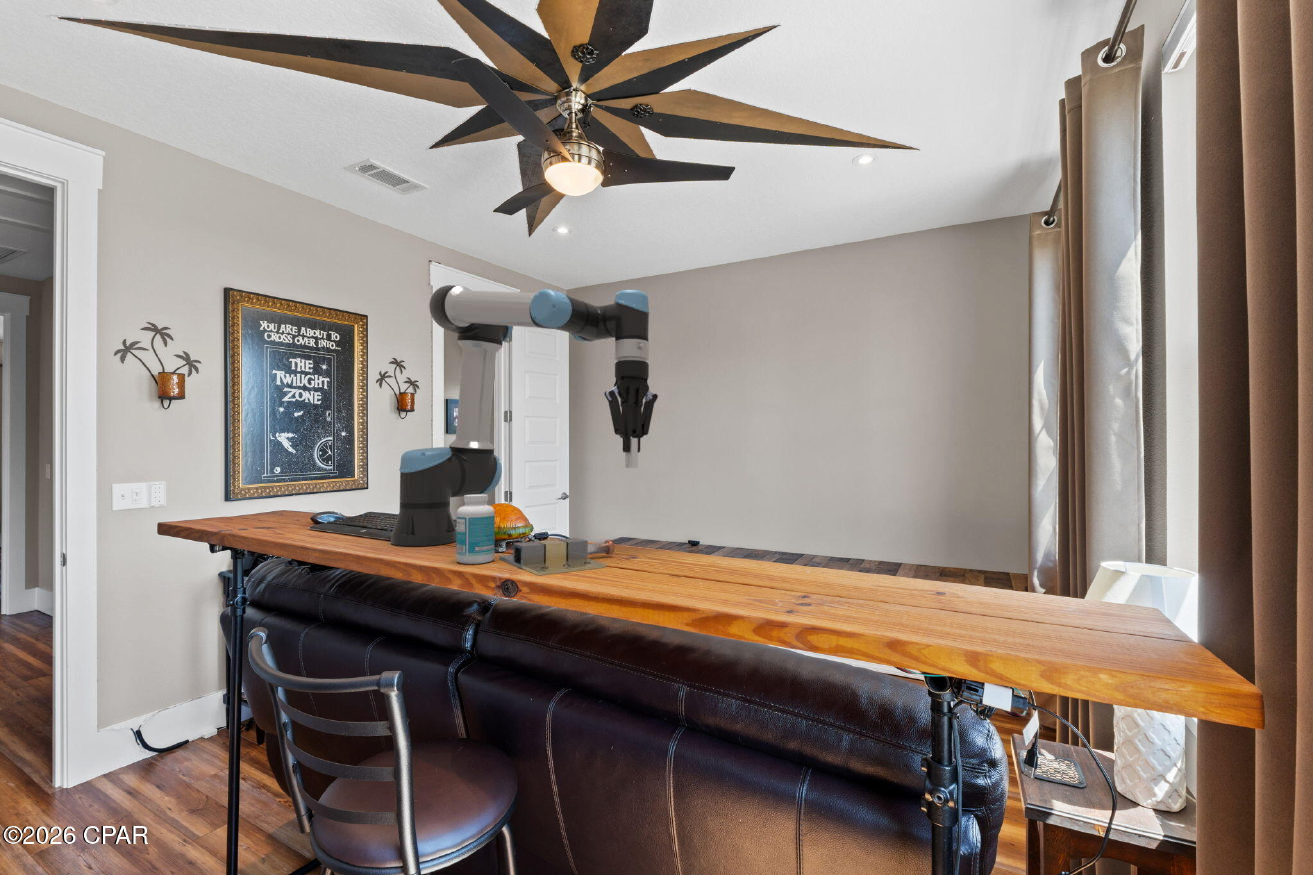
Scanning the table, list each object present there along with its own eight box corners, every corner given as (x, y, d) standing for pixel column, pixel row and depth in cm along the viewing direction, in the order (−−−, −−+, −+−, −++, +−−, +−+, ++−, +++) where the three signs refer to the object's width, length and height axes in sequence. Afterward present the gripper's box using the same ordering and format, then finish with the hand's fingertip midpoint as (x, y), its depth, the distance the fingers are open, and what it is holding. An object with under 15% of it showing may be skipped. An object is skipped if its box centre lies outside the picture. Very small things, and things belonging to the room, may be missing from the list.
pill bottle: (499, 558, 121) (500, 493, 121) (486, 565, 113) (487, 496, 114) (465, 557, 121) (466, 493, 122) (449, 564, 114) (450, 495, 115)
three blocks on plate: (499, 558, 120) (499, 538, 120) (560, 552, 128) (560, 533, 128) (538, 575, 104) (539, 551, 104) (606, 567, 112) (606, 545, 112)
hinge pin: (543, 559, 117) (543, 544, 117) (607, 552, 125) (607, 539, 126) (549, 562, 114) (549, 546, 114) (614, 554, 123) (614, 540, 123)
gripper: (615, 356, 122) (614, 468, 121) (665, 362, 129) (665, 467, 128) (597, 360, 128) (597, 467, 127) (646, 366, 135) (646, 467, 135)
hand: (631, 467), depth 128 cm, fingers closed
